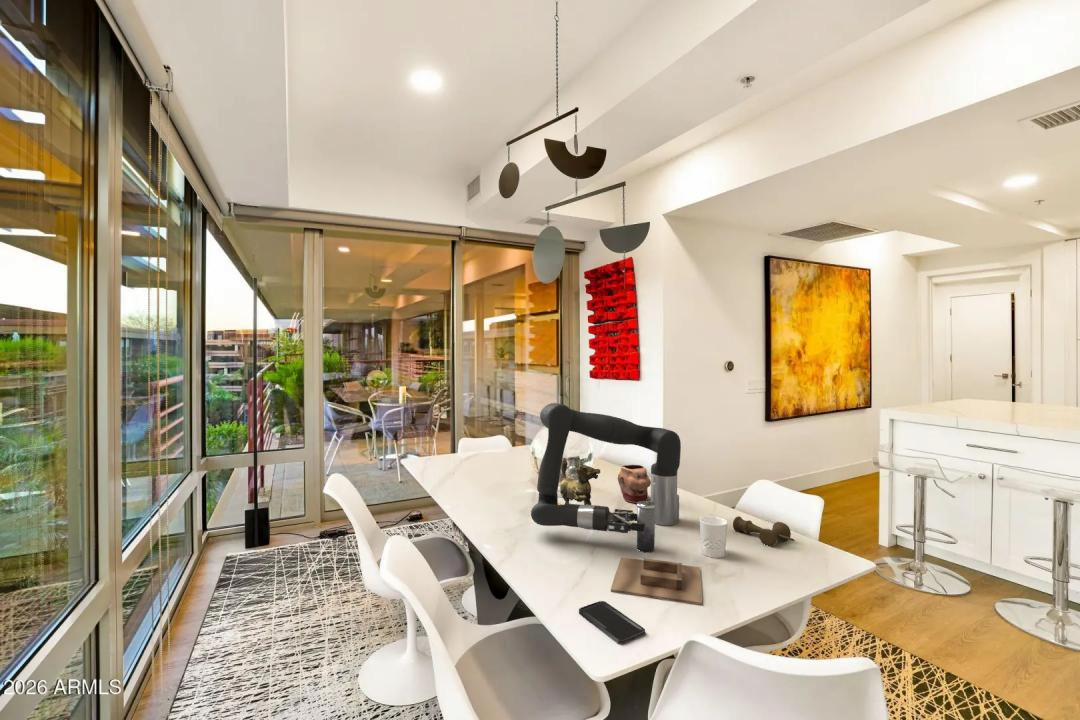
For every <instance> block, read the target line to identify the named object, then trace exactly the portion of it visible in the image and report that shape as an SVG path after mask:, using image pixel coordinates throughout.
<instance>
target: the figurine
mask: <svg viewBox="0 0 1080 720" xmlns="http://www.w3.org/2000/svg"><path fill="white" fill-rule="evenodd" d="M568 464H569V463H568V461H567V459H566V458H565V457H564V458H562V463H561V477H562V478H563V479H562V481H560V482H561V483H560V486H559V488H560V489H559V491H560V496H561V498H562V499H563V500H564V503H561V502H558V505H564V504H570V502H572V501H576V502H578V503H582V502H583V505H592V501H591V498H592V496H591V493H592V486H591V483H590V480H592V479H595V480H597V479H598V478H599V475H598V474H600V473H601V469H600V468H595V467H592V466H590V465H585V464H580V465H579V466H578V467H577V468H576V469H575V472H576V474H577V481H576V480H574V479H573V478H571V477H567V475H566V471H567V469H568Z"/></svg>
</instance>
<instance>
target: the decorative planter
mask: <svg viewBox="0 0 1080 720" xmlns="http://www.w3.org/2000/svg"><path fill="white" fill-rule="evenodd" d="M617 482H618V485H619V489H620V491H621V495H622V497H623V500H624V501H626V502H628V503H634V504H637V502H640V501H648V499H649V491H648V488H649V487H651V477H649V475H648V471H647V469H646V467H645V466H643V465H641V464H625V465H622V466H621V468H620V471H619V472H618V474H617Z"/></svg>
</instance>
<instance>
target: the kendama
mask: <svg viewBox="0 0 1080 720" xmlns="http://www.w3.org/2000/svg"><path fill="white" fill-rule="evenodd" d="M732 528H733V531H735V532H740V531H741V532H744V533H745V534H750V533H756V534H759V535H758V537H759V540H760V542H761V543H762V545H764V544H765V545H764V546H766V545H768V546H767V547H769V546H771V547H770V548H772V547H775V545H776V544H777V540H779V541H782V540H783V542H788V541H793V542H795V541H796V540H795V538H792V537H791V536H792V533H791V528H790V527H789V525H788V524H786V523H784V522H781V521H777V522H776V521H775V522H774V523H773V524H772V529H770V528H763V527H761V526H759V525H757V524H755V523H753V522H752V521H751V520H749V519H748V520H746V519H743V518H742V517H741V516H739V515H737V516H736V517H734V519H733V522H732Z"/></svg>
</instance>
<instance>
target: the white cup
mask: <svg viewBox="0 0 1080 720" xmlns="http://www.w3.org/2000/svg"><path fill="white" fill-rule="evenodd" d="M699 529H700V530H699V535H700V536H699V537H700V551H701V553H702V555H704V556H707V557H709V558H714V559H720V558H724V557H725V555H726V547H727V536H728V533H727V532H728V521H727V520H726V519H724V518H722V517H718V516H712V515H711V516H710V515H706V516H701V517H700V518H699Z"/></svg>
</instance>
